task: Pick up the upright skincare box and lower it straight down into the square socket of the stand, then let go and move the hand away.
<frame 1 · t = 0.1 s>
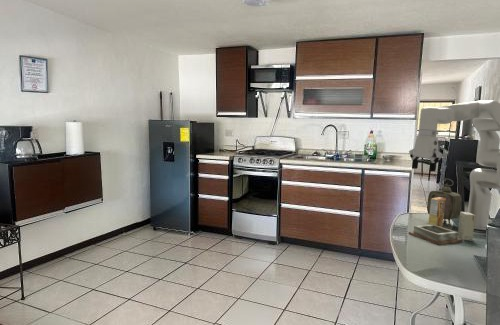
hand: (423, 169, 161), 31 cm above the table, tool pointing down, fingers open, 9 cm apart
socket stand: (434, 237, 159), on the table
candy box: (435, 227, 178), on the table
skincare box: (464, 238, 160), on the table
tabletop clock: (442, 223, 186), on the table
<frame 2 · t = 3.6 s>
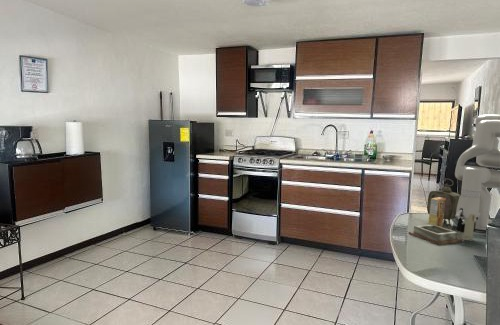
hand: (465, 230, 160), 4 cm above the table, tool pointing down, fingers closed on skincare box, 6 cm apart
skincare box: (464, 238, 160), on the table, touching gripper
everything else where it was.
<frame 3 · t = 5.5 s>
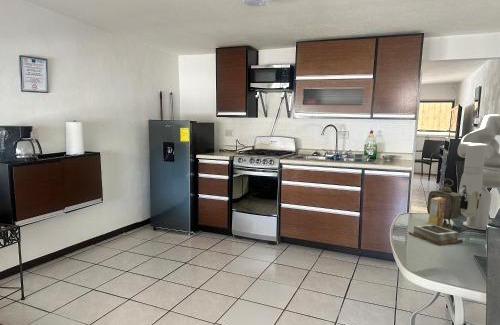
hand: (468, 207, 159), 15 cm above the table, tool pointing down, fingers closed on skincare box, 6 cm apart
skincare box: (468, 216, 160), point 11 cm above the table, touching gripper
everything else where it was.
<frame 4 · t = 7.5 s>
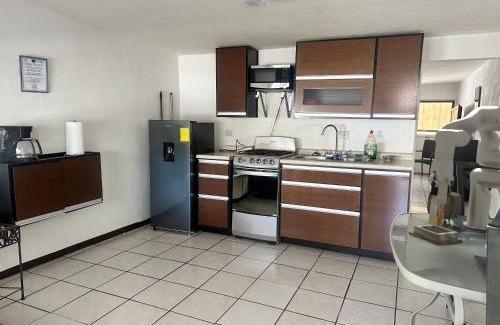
hand: (439, 194, 157), 21 cm above the table, tool pointing down, fingers closed on skincare box, 6 cm apart
skincare box: (438, 203, 157), point 17 cm above the table, touching gripper
everything else where it was.
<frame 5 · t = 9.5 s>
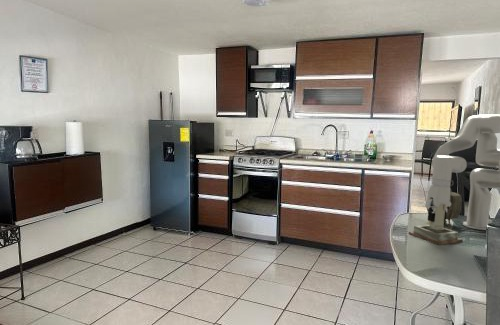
hand: (436, 220, 158), 8 cm above the table, tool pointing down, fingers closed on skincare box, 6 cm apart
skincare box: (435, 228, 159), point 4 cm above the table, touching gripper
everything else where it was.
when the fingers open (6 cm above the table, at t = 11.1 s): skincare box drops 1 cm, resting on socket stand.
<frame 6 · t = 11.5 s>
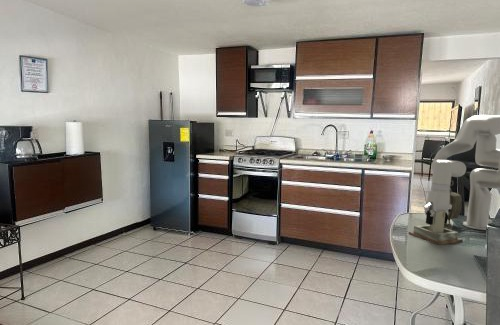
hand: (436, 223, 158), 7 cm above the table, tool pointing down, fingers open, 9 cm apart
skincare box: (435, 235, 159), point 1 cm above the table, touching socket stand
everything else where it was.
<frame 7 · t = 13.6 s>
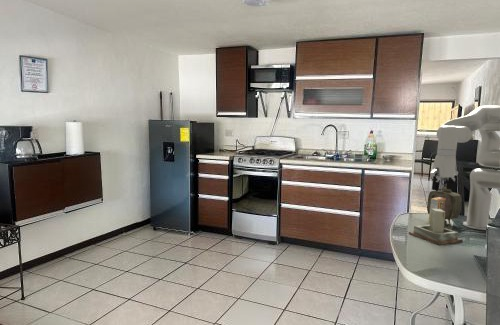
hand: (442, 189, 157), 23 cm above the table, tool pointing down, fingers open, 9 cm apart
nothing on the table moved.
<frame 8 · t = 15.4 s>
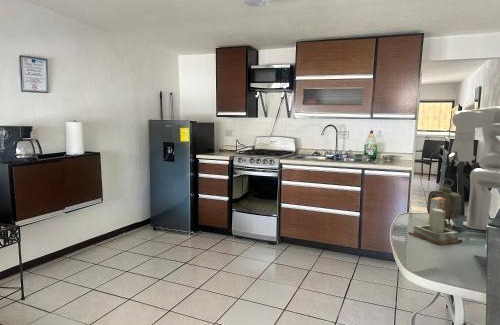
hand: (460, 173, 159), 30 cm above the table, tool pointing down, fingers open, 9 cm apart
nothing on the table moved.
at the end: skincare box 0.4 cm off-centre on the socket stand, point 0.8 cm above the socket stand's base; skincare box tilted 0°; the gripper is holding nothing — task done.
